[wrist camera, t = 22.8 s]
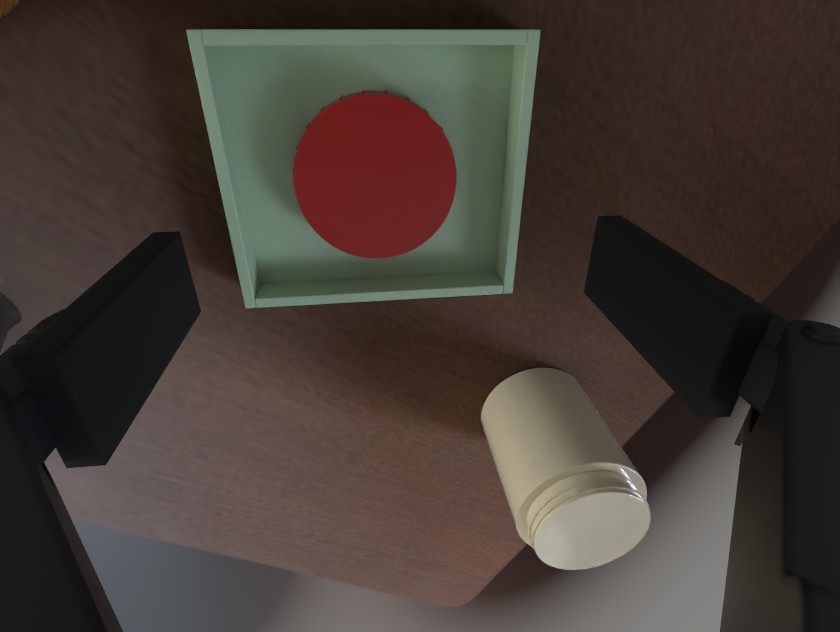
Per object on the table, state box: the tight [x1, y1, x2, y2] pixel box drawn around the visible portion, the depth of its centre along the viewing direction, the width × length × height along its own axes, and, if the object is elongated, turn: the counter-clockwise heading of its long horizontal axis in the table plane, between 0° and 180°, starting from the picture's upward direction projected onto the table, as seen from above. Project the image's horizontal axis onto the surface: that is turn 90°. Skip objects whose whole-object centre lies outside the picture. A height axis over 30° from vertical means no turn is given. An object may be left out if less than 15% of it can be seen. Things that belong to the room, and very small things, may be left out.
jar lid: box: [292, 89, 457, 259], centre depth 24 cm, size 8×8×2 cm
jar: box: [481, 368, 651, 570], centre depth 31 cm, size 8×8×10 cm
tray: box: [186, 29, 540, 308], centre depth 25 cm, size 15×13×2 cm
